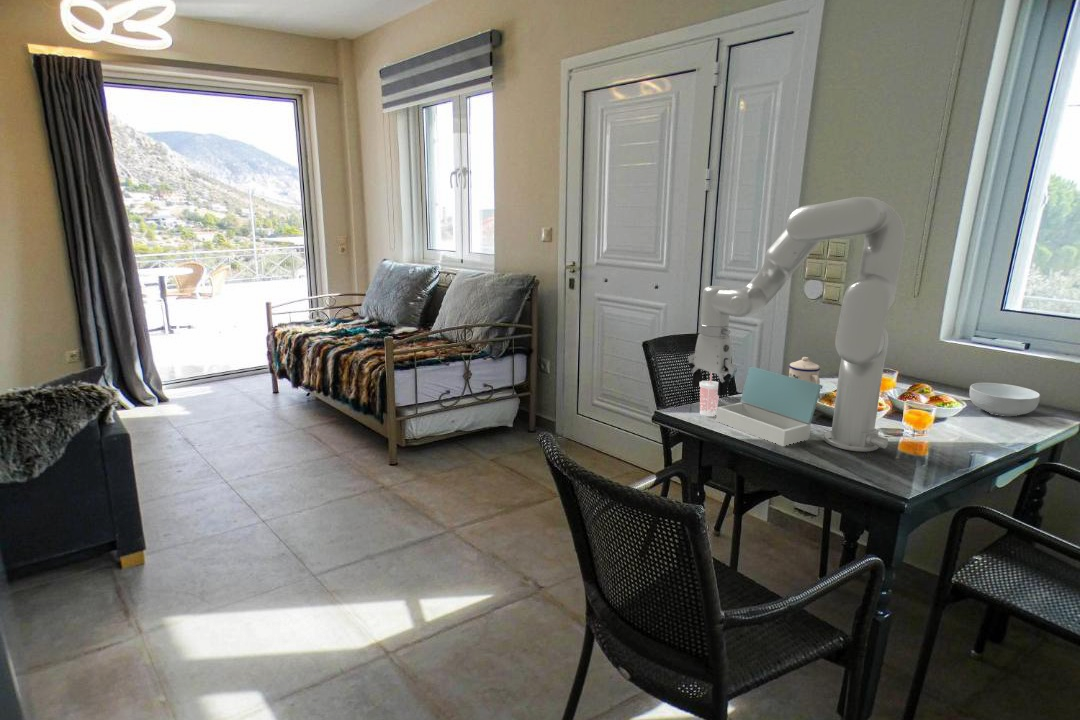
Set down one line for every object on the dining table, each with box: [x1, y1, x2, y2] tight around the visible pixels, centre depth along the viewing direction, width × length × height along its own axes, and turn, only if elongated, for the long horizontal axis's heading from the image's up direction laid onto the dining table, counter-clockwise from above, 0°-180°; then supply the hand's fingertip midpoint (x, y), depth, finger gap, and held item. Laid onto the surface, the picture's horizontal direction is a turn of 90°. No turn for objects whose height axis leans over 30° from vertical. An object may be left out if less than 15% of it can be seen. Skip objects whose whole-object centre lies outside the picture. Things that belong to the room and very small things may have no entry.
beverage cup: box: [699, 372, 720, 417], centre depth 181 cm, size 6×6×14 cm
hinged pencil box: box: [715, 402, 812, 447], centre depth 170 cm, size 22×10×4 cm, turn 32°
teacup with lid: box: [788, 356, 821, 385], centre depth 202 cm, size 12×9×12 cm
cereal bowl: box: [968, 382, 1041, 417], centre depth 187 cm, size 17×17×7 cm
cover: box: [739, 365, 824, 425], centre depth 171 cm, size 22×10×1 cm
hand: (709, 390), depth 181 cm, fingers open, 9 cm apart
